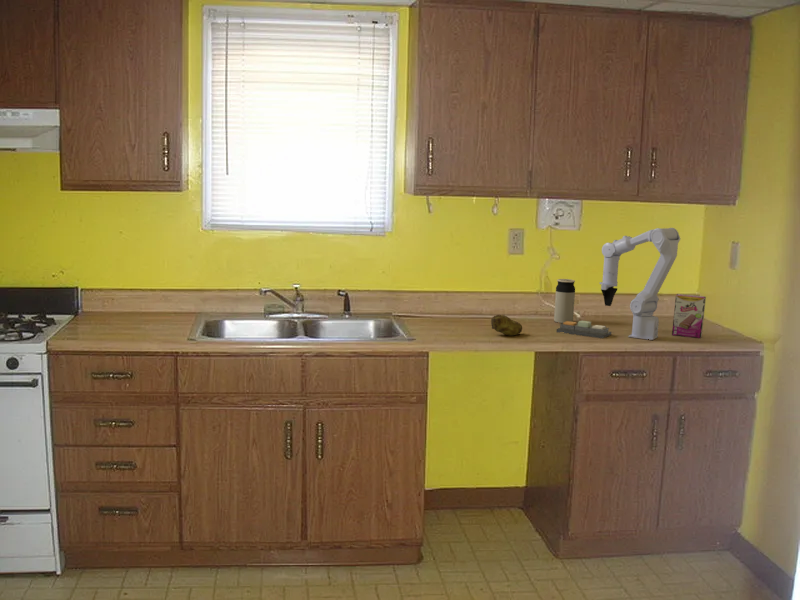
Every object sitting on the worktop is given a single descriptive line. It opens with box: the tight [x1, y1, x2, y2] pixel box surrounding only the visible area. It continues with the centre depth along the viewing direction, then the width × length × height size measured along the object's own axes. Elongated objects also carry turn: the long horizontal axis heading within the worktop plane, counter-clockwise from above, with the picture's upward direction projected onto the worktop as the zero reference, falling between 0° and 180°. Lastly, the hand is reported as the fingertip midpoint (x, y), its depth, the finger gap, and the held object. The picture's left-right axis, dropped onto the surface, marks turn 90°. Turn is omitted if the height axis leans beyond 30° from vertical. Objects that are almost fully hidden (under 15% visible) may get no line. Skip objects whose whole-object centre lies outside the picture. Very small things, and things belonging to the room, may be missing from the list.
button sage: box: [577, 320, 592, 327], centre depth 326 cm, size 4×4×2 cm
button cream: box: [592, 324, 606, 329], centre depth 323 cm, size 4×4×2 cm
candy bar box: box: [671, 293, 707, 339], centre depth 327 cm, size 11×5×16 cm, turn 66°
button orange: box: [563, 321, 578, 326], centre depth 329 cm, size 4×4×2 cm
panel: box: [556, 322, 612, 339], centre depth 326 cm, size 19×10×3 cm, turn 58°
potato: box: [490, 314, 523, 336], centre depth 318 cm, size 8×13×8 cm, turn 95°
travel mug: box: [553, 278, 576, 324], centre depth 348 cm, size 8×8×18 cm
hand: (608, 305), depth 334 cm, fingers closed
